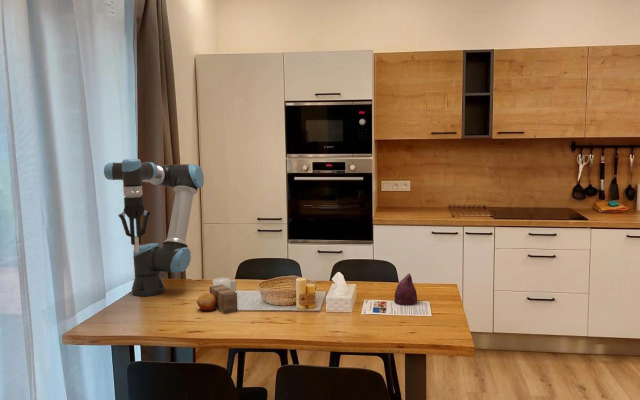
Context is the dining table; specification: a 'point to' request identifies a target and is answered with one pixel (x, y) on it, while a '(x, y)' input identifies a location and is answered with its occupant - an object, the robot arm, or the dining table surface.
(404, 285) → the vegetable
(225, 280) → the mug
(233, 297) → the brown wooden block
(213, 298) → the fruit
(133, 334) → the dining table surface
